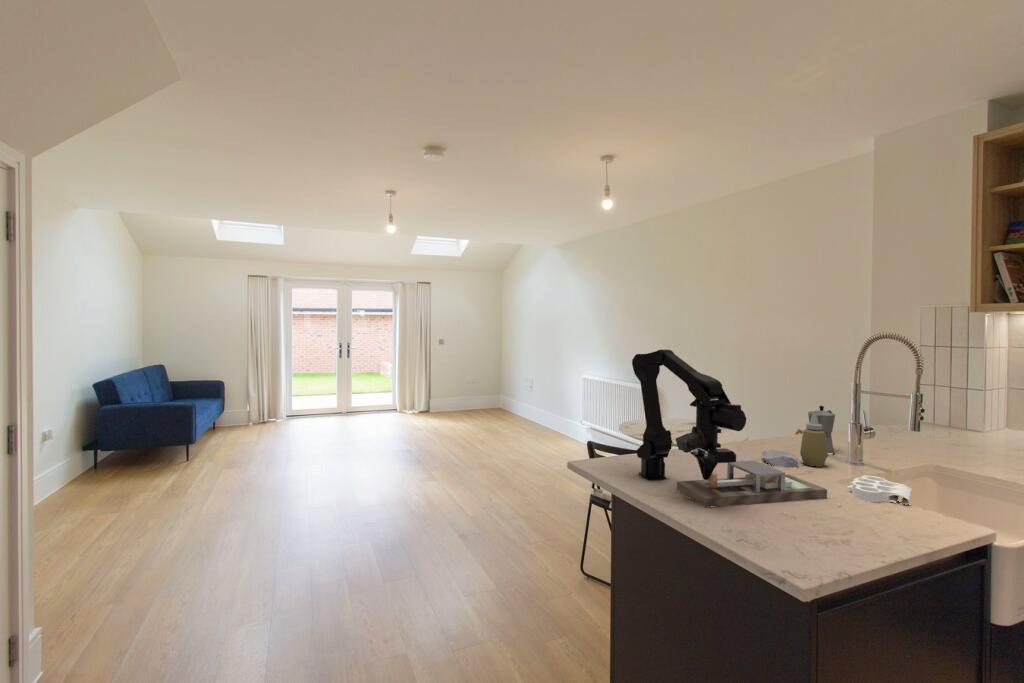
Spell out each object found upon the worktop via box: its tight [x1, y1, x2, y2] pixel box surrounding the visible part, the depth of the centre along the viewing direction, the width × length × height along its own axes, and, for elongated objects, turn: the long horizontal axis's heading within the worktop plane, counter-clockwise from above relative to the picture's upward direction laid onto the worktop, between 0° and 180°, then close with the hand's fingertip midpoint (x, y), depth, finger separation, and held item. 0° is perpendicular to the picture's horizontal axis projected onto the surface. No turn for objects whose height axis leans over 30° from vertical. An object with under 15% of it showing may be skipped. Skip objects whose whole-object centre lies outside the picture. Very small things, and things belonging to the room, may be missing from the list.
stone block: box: [761, 449, 799, 468], centre depth 171 cm, size 12×5×10 cm
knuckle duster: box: [845, 475, 913, 506], centre depth 138 cm, size 3×18×15 cm
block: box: [750, 474, 778, 483], centre depth 139 cm, size 6×6×4 cm
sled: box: [708, 472, 792, 489], centre depth 138 cm, size 23×8×4 cm, turn 101°
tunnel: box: [726, 460, 786, 493], centre depth 138 cm, size 9×12×5 cm
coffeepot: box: [807, 405, 836, 454], centre depth 186 cm, size 15×9×18 cm, turn 125°
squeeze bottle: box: [799, 414, 828, 468], centre depth 168 cm, size 8×8×18 cm
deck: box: [676, 474, 828, 508], centre depth 138 cm, size 38×14×2 cm, turn 101°
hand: (705, 479), depth 135 cm, fingers closed, pressing on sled
